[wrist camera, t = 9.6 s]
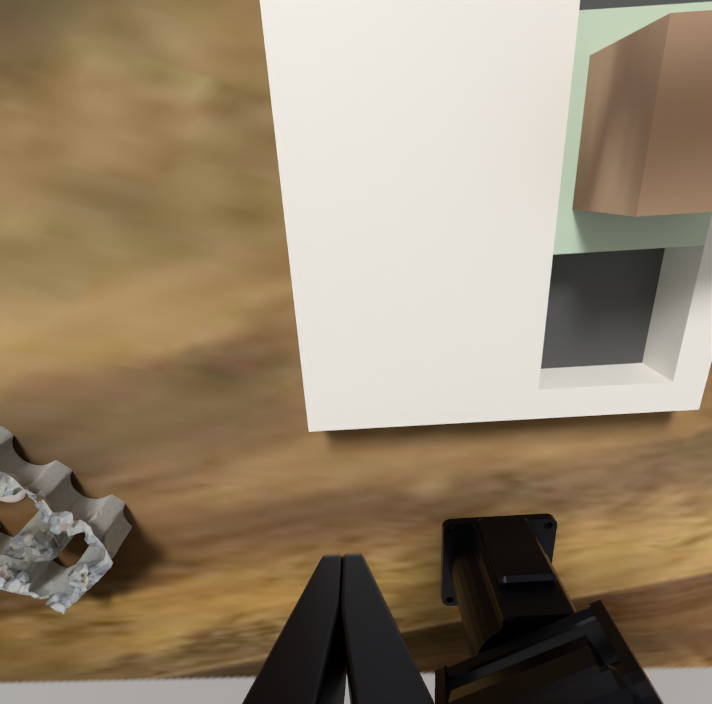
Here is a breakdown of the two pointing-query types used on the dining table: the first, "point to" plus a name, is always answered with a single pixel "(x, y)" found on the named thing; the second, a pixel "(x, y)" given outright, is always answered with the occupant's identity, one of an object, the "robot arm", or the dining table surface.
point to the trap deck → (471, 219)
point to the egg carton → (55, 531)
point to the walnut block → (649, 121)
